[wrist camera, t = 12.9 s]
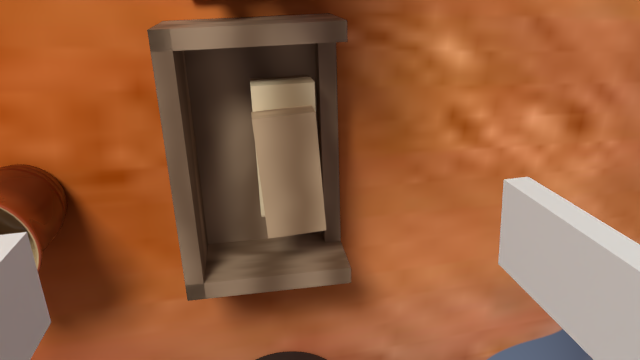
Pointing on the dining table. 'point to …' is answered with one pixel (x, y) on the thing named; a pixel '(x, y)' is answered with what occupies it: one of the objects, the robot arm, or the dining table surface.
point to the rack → (243, 149)
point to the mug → (31, 206)
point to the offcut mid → (280, 100)
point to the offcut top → (289, 170)
